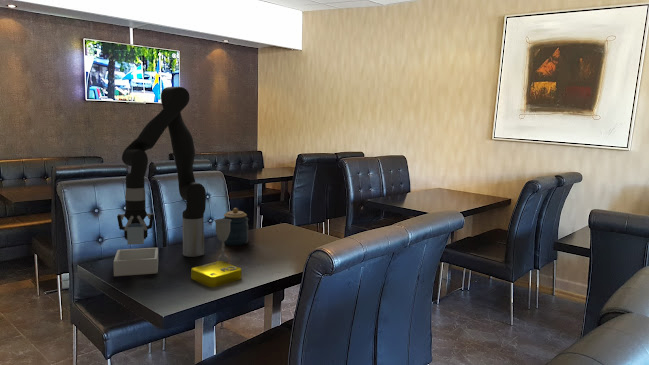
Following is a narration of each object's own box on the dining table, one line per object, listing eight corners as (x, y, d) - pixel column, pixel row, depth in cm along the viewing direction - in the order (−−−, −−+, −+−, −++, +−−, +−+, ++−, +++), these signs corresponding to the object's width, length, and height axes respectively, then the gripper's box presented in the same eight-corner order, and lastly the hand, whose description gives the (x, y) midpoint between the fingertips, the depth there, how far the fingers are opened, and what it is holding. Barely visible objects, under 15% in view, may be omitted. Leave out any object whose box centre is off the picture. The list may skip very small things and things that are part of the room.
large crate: (158, 260, 202) (158, 247, 201) (157, 273, 187) (157, 258, 186) (118, 263, 197) (117, 249, 196) (113, 276, 182) (113, 261, 181)
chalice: (214, 263, 202) (214, 222, 199) (214, 258, 208) (214, 218, 206) (232, 262, 204) (232, 222, 201) (230, 257, 210) (230, 218, 208)
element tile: (220, 270, 195) (220, 259, 194) (243, 279, 185) (243, 267, 184) (189, 278, 183) (189, 267, 183) (211, 289, 174) (211, 276, 173)
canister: (217, 244, 231) (217, 209, 228) (229, 237, 243) (230, 204, 241) (241, 247, 227) (241, 211, 225) (252, 240, 239) (253, 206, 237)
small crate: (144, 238, 195) (144, 222, 194) (143, 244, 188) (143, 227, 187) (129, 239, 193) (128, 223, 192) (127, 244, 186) (127, 227, 185)
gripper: (154, 196, 194) (155, 236, 196) (117, 197, 189) (117, 237, 192) (154, 199, 187) (154, 240, 189) (114, 200, 182) (115, 242, 185)
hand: (136, 238), depth 190 cm, fingers closed on small crate, 6 cm apart
